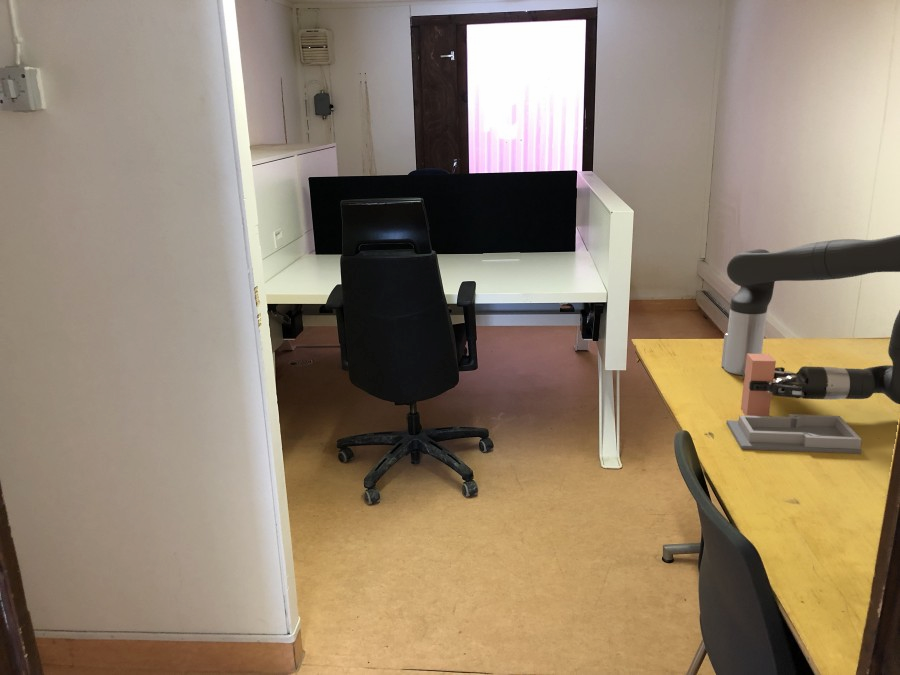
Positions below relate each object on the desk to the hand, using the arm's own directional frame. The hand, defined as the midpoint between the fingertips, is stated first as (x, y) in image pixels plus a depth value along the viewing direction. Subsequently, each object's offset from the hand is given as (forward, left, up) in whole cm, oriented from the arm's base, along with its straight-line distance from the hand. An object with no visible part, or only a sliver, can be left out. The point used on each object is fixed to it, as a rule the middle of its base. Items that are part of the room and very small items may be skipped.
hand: (746, 381), depth 170 cm
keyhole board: (+15, -1, -8) cm, 17 cm away
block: (+1, +2, -8) cm, 8 cm away
